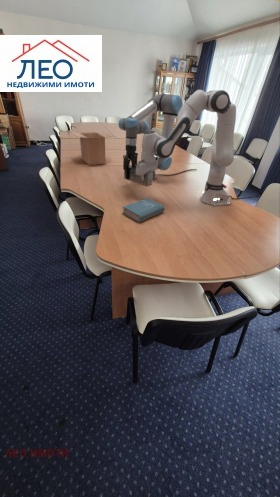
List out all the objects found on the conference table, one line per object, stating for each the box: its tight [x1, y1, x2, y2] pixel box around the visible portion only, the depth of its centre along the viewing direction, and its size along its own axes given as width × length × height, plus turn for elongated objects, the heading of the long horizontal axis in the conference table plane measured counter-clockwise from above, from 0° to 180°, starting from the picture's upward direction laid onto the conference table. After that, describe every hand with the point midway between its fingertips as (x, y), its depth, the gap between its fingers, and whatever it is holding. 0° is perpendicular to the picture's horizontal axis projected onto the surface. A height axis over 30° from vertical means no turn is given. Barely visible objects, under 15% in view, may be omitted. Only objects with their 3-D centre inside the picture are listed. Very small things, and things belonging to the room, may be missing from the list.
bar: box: [123, 164, 153, 188], centre depth 159 cm, size 22×5×10 cm, turn 51°
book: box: [122, 197, 165, 224], centre depth 146 cm, size 23×16×5 cm
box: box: [70, 129, 114, 166], centre depth 229 cm, size 44×36×27 cm
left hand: (129, 178), depth 165 cm, fingers closed on bar, 5 cm apart
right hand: (146, 178), depth 156 cm, fingers closed on bar, 5 cm apart
